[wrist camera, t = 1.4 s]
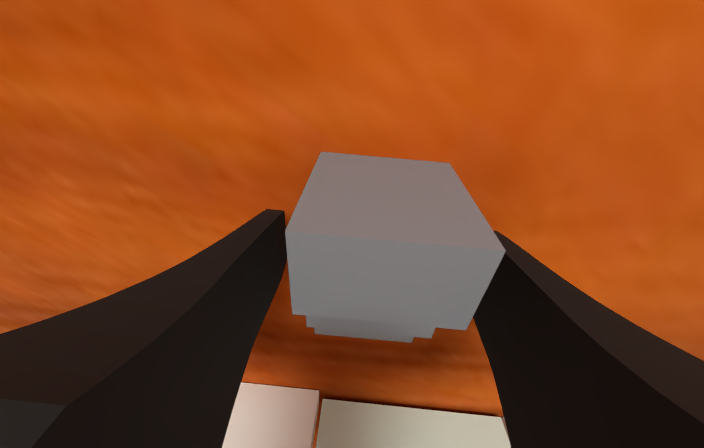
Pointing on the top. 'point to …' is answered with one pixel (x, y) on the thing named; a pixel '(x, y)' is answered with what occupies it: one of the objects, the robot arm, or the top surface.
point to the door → (405, 427)
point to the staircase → (387, 249)
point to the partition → (274, 417)
